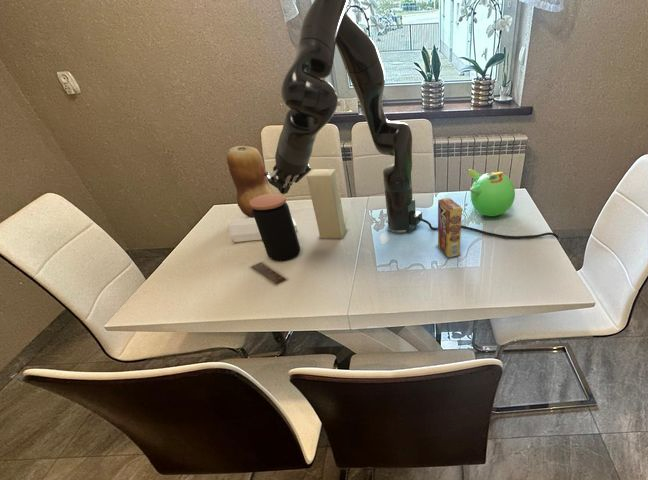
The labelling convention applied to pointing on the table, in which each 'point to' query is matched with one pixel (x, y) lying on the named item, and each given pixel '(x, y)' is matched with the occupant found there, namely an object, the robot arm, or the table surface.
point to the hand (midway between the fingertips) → (282, 190)
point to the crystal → (246, 229)
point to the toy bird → (491, 193)
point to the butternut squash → (247, 176)
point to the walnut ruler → (268, 273)
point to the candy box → (449, 227)
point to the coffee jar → (275, 226)
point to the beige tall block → (327, 202)
